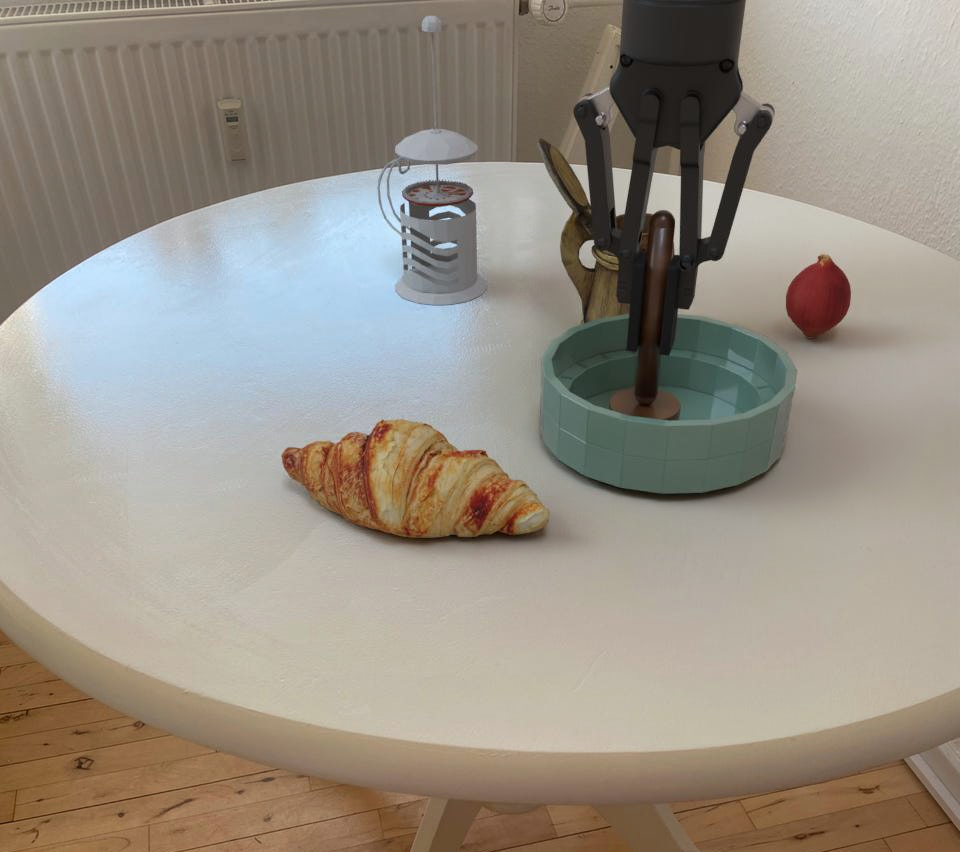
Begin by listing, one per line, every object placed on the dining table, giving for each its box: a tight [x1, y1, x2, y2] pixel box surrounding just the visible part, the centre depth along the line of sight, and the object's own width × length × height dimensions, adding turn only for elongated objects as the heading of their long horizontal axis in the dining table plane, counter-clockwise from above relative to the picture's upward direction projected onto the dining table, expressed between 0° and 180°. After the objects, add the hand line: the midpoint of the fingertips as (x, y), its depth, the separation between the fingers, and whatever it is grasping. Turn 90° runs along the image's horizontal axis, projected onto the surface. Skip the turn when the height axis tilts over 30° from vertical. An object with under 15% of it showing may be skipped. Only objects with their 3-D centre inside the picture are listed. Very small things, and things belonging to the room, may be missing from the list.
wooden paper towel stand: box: [609, 209, 681, 421], centre depth 79 cm, size 6×6×16 cm
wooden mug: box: [537, 137, 676, 325], centre depth 95 cm, size 9×14×18 cm, turn 82°
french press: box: [376, 15, 488, 306], centre depth 104 cm, size 10×12×25 cm
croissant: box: [281, 419, 550, 539], centre depth 77 cm, size 21×10×8 cm, turn 71°
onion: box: [785, 253, 852, 339], centre depth 99 cm, size 6×6×8 cm
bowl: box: [539, 313, 798, 495], centre depth 85 cm, size 20×20×6 cm
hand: (650, 345), depth 80 cm, fingers closed on wooden paper towel stand, 2 cm apart
